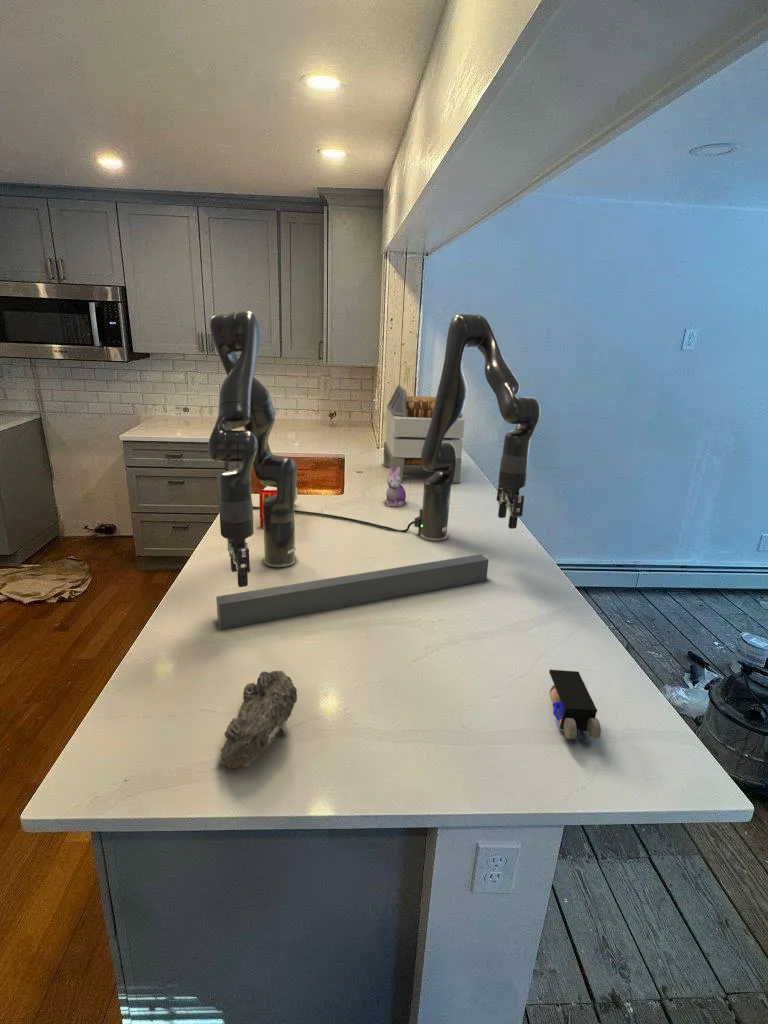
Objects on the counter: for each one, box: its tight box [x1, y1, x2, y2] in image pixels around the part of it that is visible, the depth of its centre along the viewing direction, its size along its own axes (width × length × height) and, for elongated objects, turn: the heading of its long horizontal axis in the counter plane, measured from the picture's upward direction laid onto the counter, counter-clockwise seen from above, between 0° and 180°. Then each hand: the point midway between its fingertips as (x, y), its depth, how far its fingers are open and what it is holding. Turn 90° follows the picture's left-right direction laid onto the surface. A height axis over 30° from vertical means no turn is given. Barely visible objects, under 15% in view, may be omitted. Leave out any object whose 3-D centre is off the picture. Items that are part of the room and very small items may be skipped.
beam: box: [215, 553, 490, 630], centre depth 153 cm, size 77×4×7 cm, turn 115°
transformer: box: [383, 384, 465, 484], centre depth 268 cm, size 34×33×41 cm
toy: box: [258, 486, 298, 529], centre depth 211 cm, size 12×13×30 cm
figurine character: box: [548, 669, 602, 743], centre depth 110 cm, size 7×8×15 cm
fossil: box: [220, 670, 298, 769], centre depth 104 cm, size 22×10×15 cm
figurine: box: [385, 467, 407, 507], centre depth 228 cm, size 9×10×15 cm
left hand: (239, 578), depth 137 cm, fingers open, 8 cm apart
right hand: (506, 522), depth 165 cm, fingers open, 8 cm apart
